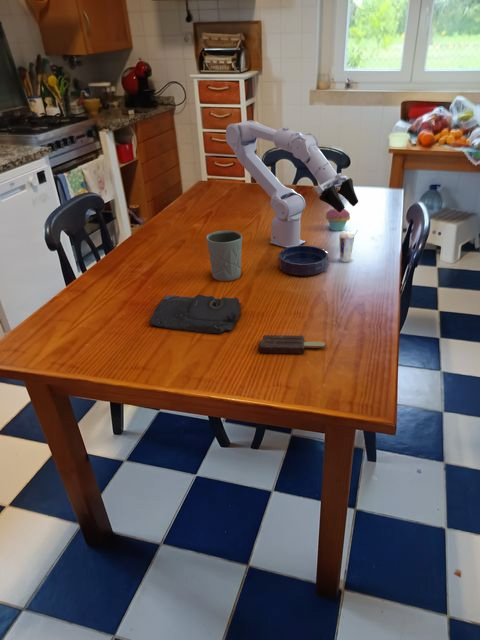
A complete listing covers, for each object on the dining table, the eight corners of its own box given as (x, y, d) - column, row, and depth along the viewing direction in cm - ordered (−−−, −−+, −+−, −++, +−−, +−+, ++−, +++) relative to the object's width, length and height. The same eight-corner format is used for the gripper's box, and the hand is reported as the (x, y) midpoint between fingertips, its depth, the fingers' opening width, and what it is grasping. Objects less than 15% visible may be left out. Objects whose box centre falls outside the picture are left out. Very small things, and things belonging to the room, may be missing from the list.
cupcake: (333, 233, 171) (335, 199, 164) (320, 226, 177) (322, 193, 170) (353, 229, 174) (356, 195, 167) (340, 222, 180) (342, 190, 174)
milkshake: (354, 263, 149) (357, 232, 143) (337, 262, 150) (339, 231, 144) (355, 258, 153) (358, 227, 147) (338, 257, 154) (340, 226, 148)
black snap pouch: (168, 298, 133) (165, 283, 130) (246, 305, 128) (245, 289, 126) (144, 327, 120) (141, 310, 118) (230, 335, 116) (228, 318, 113)
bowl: (269, 269, 147) (268, 256, 145) (297, 253, 157) (298, 241, 154) (309, 281, 139) (309, 268, 137) (336, 264, 149) (337, 252, 146)
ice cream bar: (324, 341, 113) (259, 340, 114) (324, 335, 112) (259, 334, 113) (325, 354, 108) (258, 353, 109) (325, 348, 107) (258, 347, 108)
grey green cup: (204, 279, 142) (200, 240, 136) (218, 266, 150) (215, 228, 144) (236, 283, 139) (233, 244, 133) (249, 270, 147) (247, 231, 140)
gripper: (316, 165, 136) (344, 204, 135) (343, 156, 145) (370, 193, 144) (301, 182, 141) (329, 219, 141) (329, 172, 150) (355, 207, 150)
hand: (349, 207), depth 143 cm, fingers open, 7 cm apart
